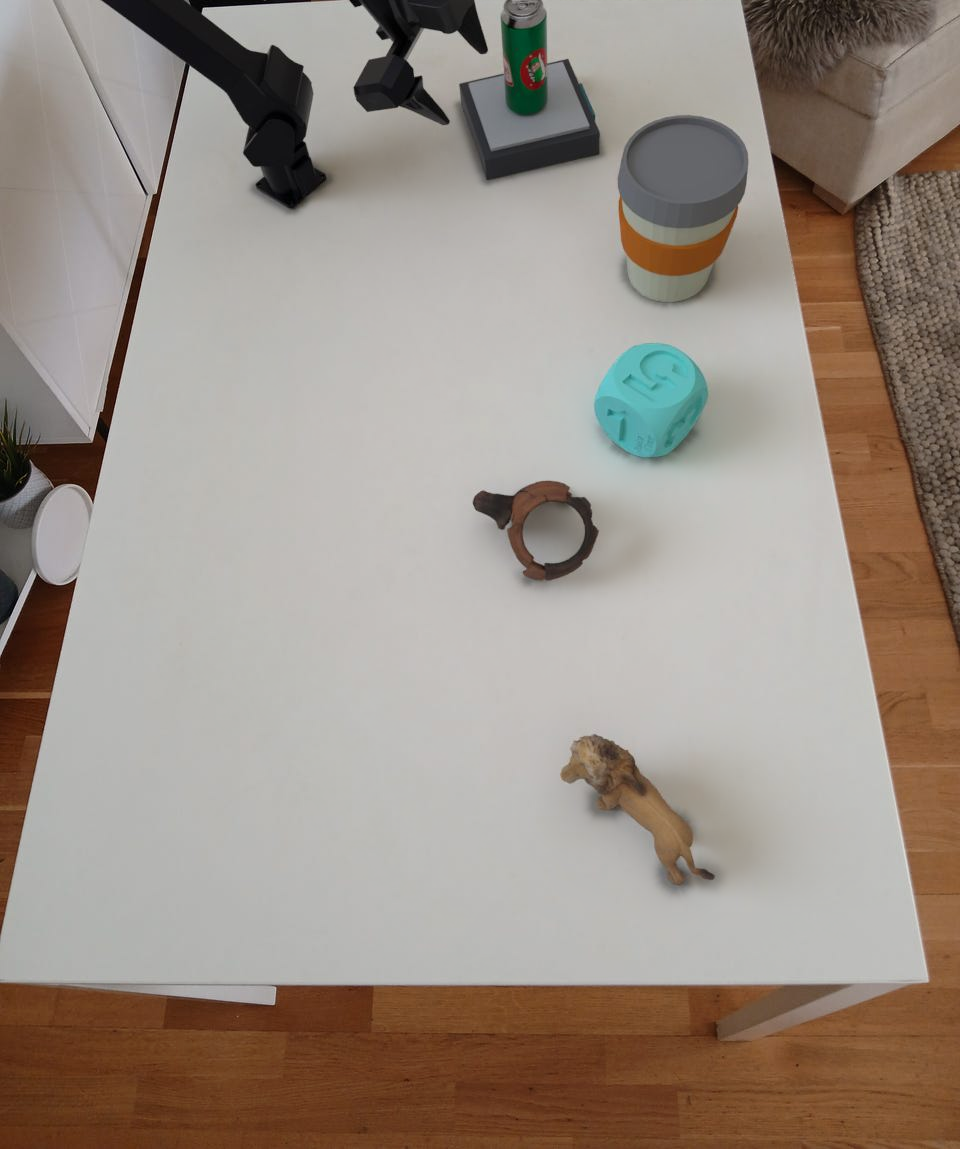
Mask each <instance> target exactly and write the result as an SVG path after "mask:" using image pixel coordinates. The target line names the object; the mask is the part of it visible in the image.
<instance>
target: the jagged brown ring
mask: <svg viewBox="0 0 960 1149" xmlns="http://www.w3.org/2000/svg"><path fill="white" fill-rule="evenodd" d="M570 489H571V487H570V486H569V485H567V484H566V483H564V482H561V481H555V480H540V481H535V482H533V483H531V484H528V485H526V486H524V487H522V488H520V489H518V491H517V492H516V493H515V494H514V495H510V494H502V493H492V492H490V491H486V490H484V489H482V490H480V491H479V492H477V493H476V494H474V496H473V499H472V505H473V507H474V508H473V509H474V510H475V511H476V512H478V513H481V514H483V515H486V516H487V517H490V518H491V519H492V520H494V522H495V524H496V525H497V527H498V529H499V530H501V531H504V530H505V529H506V532H507V533H506V534H507V537H508V540H509V545H510V547H511V549H512V551H513V554H514V555H515V557H516V559H517V560H518V561H519V563H520V564H521V565H522V566H523V567H524V568H525V570H523V571H522V575H523V576H524V577H526V578H529V579H531V580H534V581H541V582H542V581H543V580H545V581H552V580H557V579H559V578H560V579H561V578H562V577H565V576H568V575H569V574H572V573H573V572H575V571H577V569H579V568H580V567H582V566H583V564H584V561H585V560H587V559H588V558H589V557H590V555H591V553H592V551H593V549H594V546H595V544H596V541H597V538H598V537H599V532H600V530H599V529H598V527H596V526H595V525H594V523H593V519H592V518H593V510H592V503H591V502H590V501H589V499H587V498H586V497H585V496H581V497H580V496H573V494H572V493H571V492H570ZM547 503H561V504H566V505H568V506H569V507H571V508H572V509H574V510H575V511H576V512H577V513H578V515H579V516H580V518H581V520H582V522H583V526H584V536H583V541H582V543H581V545H580V547H579V548H578V550H576V552H575V553H574V554H573V555H572V556H570V557H569V558H567V559H565V560H562V561H559V562H544V564H541V563H539V562H536V561H535V557H534V555H533V554H532V553H531V552H530V551H529V549H528V548H527V546H526V544H525V541H524V534H523V532H524V524H525V522H526V520H527V519H528V517H529V515H530V514H531V513H532V512H533V511H534V510H535V509H536V508H538V507H540V506H541V505H544V504H547ZM510 523H511V526H510V527H508V528H506V526H508V525H509V524H510Z"/></svg>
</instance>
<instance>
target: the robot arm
mask: <svg viewBox="0 0 960 1149" xmlns="http://www.w3.org/2000/svg"><path fill="white" fill-rule="evenodd" d="M100 1H101V2H102V3H104V4H105V5H107V6H108V7H110V9H112V10H113V11H115V12H116V13H117V14H119V15H120V16H121V17H123V18H124V19H125V20H127V21H128V22H129V23H131V24H133V25H134V26H135V27H136V28H138V29H140V30H141V31H142V32H144V34H146V35H147V36H148V37H151V39H153V40H155V42H157V43H158V44H160V45H161V46H162V47H164V48H165V49H166V50H168V51H169V52H170V53H172V54H173V55H175V56H176V57H177V58H179V59H180V60H181V61H183V62H184V63H185V64H187V65H188V66H190V67H191V68H192V69H194V70H195V71H197V73H199V74H200V75H202V76H203V77H205V78H206V79H207V80H209V81H210V82H211V83H213V84H214V85H215V86H217V87H218V88H219V89H221V90H222V91H223V92H224V93H225V94H226V96H228V99H229V100H230V102H231V103H232V105H233V107H234V109H235V110H236V111H237V113H238V115H239V116H240V118H241V119H242V121H243V122H244V123H245V124H246V125H247V126H248V129H247V134H246V137H245V142H244V147H243V150H242V154H243V156H244V157H245V159H246V160H247V161H248V162H249V163H250V165H251V166H253V167H254V168H260V169H261V173H262V175H263V176H262V178H261V179H259V180H258V181H257V182H255V188H256V189H257V190H258V191H259V192H261V193H262V194H264V195H266V196H268V198H271V199H273V200H274V201H276V202H277V203H279V204H281V205H283V206H284V207H286V208H287V209H289V210H290V209H291V210H293V209H295V208H296V207H297V206H299V204H300V203H302V202H303V201H304V200H305V199H306V198H308V197H309V196H310V195H311V194H312V193H313V192H314V191H315V190H317V189H318V188H319V187H320V186H321V185H323V184H324V183H326V181H327V180H328V178H327V174H326V173H325V172H323V171H322V170H319V169H318V168H316V167H314V163H313V160H312V158H311V155H310V153H309V150H308V146H307V143H306V141H304V140H305V138H306V136H307V131H308V126H309V121H310V115H311V111H312V106H313V99H314V90H313V85H312V84H313V83H312V81H311V79H310V77H309V76H308V75H307V74H306V73H305V72H304V69H305V68H304V66H305V65H303V64H301V63H298V62H296V61H295V60H292V59H291V58H290V57H289V56H287V55H286V53H284V51H282V49H281V48H280V47H279V46H276V45H275V44H271V45H270V46H269V49H268V50H267V52H263V51H262V52H261V51H257V50H250V49H248V48H246V47H245V46H244V45H242V44H241V43H240V42H239V41H237V39H235V38H234V37H232V36H230V35H229V34H228V33H227V32H226V31H225V30H223V29H222V28H221V27H219V26H218V25H217V24H215V23H214V22H213V21H211V19H209V18H208V17H207V16H205V15H204V14H203V13H201V12H200V11H199V10H197V9H196V8H195V7H194V6H192V5H191V4H189V3H188V2H187V1H186V0H100ZM348 1H349V3H350V4H351V5H352V6H353V7H354V8H358V7H361V6H362V7H363V8H364V9H365V10H366V11H367V13H368V14H369V15H370V16H371V17H372V19H373V20H374V21H375V22H376V24H377V25H378V27H377V29H376V31H375V34H376V35H377V36H378V37H379V39H380V40H381V41H384V40H390V41H391V42H392V44H391V45H390V48H389V49H388V51H387V53H386V55H385V56H381V57H376V58H371V59H368V60H367V62H366V63H365V65H364V67H363V69H362V71H361V73H360V74H359V77H358V78H357V80H356V82H355V83H354V85H353V94H354V98H355V100H356V101H357V103H358V104H359V106H361V107H362V109H363V110H365V112H366V113H369V112H370V113H371V112H377V111H385V110H392V109H397V108H399V107H401V108H403V109H407V110H408V111H411V112H413V113H415V114H417V115H420V116H422V117H424V118H427V119H428V120H431V121H432V122H435V123H437V124H439V125H441V126H449V124H450V123H451V121H450V119H449V117H448V115H447V114H446V112H445V111H444V109H442V108H441V107H440V105H439V104H438V103H437V102H436V101H435V99H434V98H433V97H432V96H431V95H430V93H428V91H427V90H426V89H425V87H424V78H423V75H417V76H416V75H415V71H414V70H415V69H414V67H413V66H412V65H411V64H410V63H409V62H408V59H409V57H410V55H411V54H412V52H413V50H414V47H415V46H416V44H417V42H418V40H419V38H420V37H421V35H422V33H423V31H424V29H425V30H431V31H435V32H441V33H443V34H444V35H451V34H454V33H456V32H457V33H459V35H460V36H461V37H462V38H463V39H464V40H465V42H466V43H468V45H469V46H470V47H472V49H474V50H475V51H476V52H477V53H478V54H479V55H486V54H488V52H489V48H488V43H487V40H486V38H485V34H484V30H483V28H482V25H481V20H480V17H479V13H478V10H477V6H476V1H475V0H348Z"/></svg>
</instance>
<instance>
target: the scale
mask: <svg viewBox="0 0 960 1149" xmlns="http://www.w3.org/2000/svg"><path fill="white" fill-rule="evenodd" d="M547 78H548V100H547V103H546V105H545V106H544V107H543V108H542V109H541V110H540V111H539V112H537V113H535V114H533V115H527V116H524V115H518V114H516V113H514V112H513V111H511V110H510V109H509V108H508V107H507V105H506V100H505V84H504V73H499V74H495V75H491V76H487V77H483V78H478V79H473V80H469V81H465V82H461V83H459V84H458V86H459V94H460V96H459V97H460V104H461V107H462V111H463V113H464V117H465V119H466V122H467V126H468V128H469V132H470V134H471V138H472V141H473V143H474V147H475V150H476V153H477V156H478V159H479V162H480V164H481V167H482V171H483V173H484V177H485V180H486V181H490V180H494V179H498V178H503V177H507V176H511V175H516V174H520V173H523V172H524V173H525V172H527V171H532V170H537V169H541V168H545V167H549V166H553V165H558V164H562V163H567V162H570V161H576V160H579V159H580V160H581V159H584V158H588V157H593V156H597V155H600V144H601V143H600V140H601V139H600V138H601V132H600V130H599V127H598V124H597V123H596V113H595V111H594V108H593V107H592V104H591V101H590V99H589V97H588V95H587V92H586V90H585V88H584V85H583V83H582V82H581V83H579V80H578V78H577V76H576V73H575V71H574V68H573V66H572V65H571V62H570V59H569V58H565V59H561V60H556V61H552V62H547Z"/></svg>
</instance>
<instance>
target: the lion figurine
mask: <svg viewBox="0 0 960 1149" xmlns="http://www.w3.org/2000/svg"><path fill="white" fill-rule="evenodd" d="M569 750H570V752H571V754H570V755H571V756H570V758H569V762H568V763H567V764H566V765H564V766H563V767H562V768H561V771H560V773H559V774H560V778H561V780H562V781H563V782H565V783H567V784H573V783H575V782H577V781H578V780H584V782H585V783H586V784H588V786H591V787H592V788H593V789H594V790H595V791H597V792H598V794H600V795H601V796H599V797H598V798H597V802H596V803H597V805H598V809H600V810H604V811H609V810H612V809H613V808H616V806H620V807H621V808H622V810H623V811H624V812H625V813H626V814H627V815H628V816H629V817H630V818H632V819H633V820H634V821H635V822H636V823H637V824H638V825H639V826H641V827H642V828H643V829H646V830H647V831H648V832H650V833H651V834H652V836H653V841H654V843H653V845H654V851H655V853H656V856H657V859H658V860H659V861H660V863H661V864H662V866H663V867H664V868H665V869H666V870H667V871H668V872H667V880H668V881H669V882H670V883H671V884H673V885H677V886H678V885H680V884H682V883H683V882H685V875H684V872H683V871H682V870H681V869H680V868H679V867H678V866H677V862H678V861H679V858H681V857H682V859H683V860H684V861H685V862H686V865H687V868H688V870H689V872H690V873H692V874H693V875H697V876H701V877H702V878H703V879H704V880H708V881H713V880H715V879H716V876H715V874H714V873H712V872H710V871H708V870H707V869H706V868H700V867H696V865H695V860H694V856H693V853H692V849H691V847H692V846H693V843H694V834H693V831H692V828H691V827H690V825H689V824H688V822H687V821H686V820H685V819H684V818H683V817H682V816H681V815H679V814H678V813H677V812H676V811H675V810H674V809H673V808H671V806H670V805H669V803H668V802H667V801H666V800H665V798H664V797H663V795H662V794H661V793H660V792H659V790H658V789H657V788H656V787H655V785H654V784H653V783H652V782H651V781H650V780H649V779H648V778H647V777H646V776H645V775H644V774H642V773H641V771H640V769H639V767H638V766H637V764H636V760H635V758H634V756H633V755H632V754H631V753H630V752H629V750H628V749H624V748H623V747H621V746H620V745H619V744H616V742H615V741H614V740H609V738H608V739H607V738H604V737H603V736H601V735H597V734H596V733H592V734H591V735H583V736H580V737H579V739H578V740H573V741H572V743H571V746H570V748H569Z"/></svg>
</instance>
